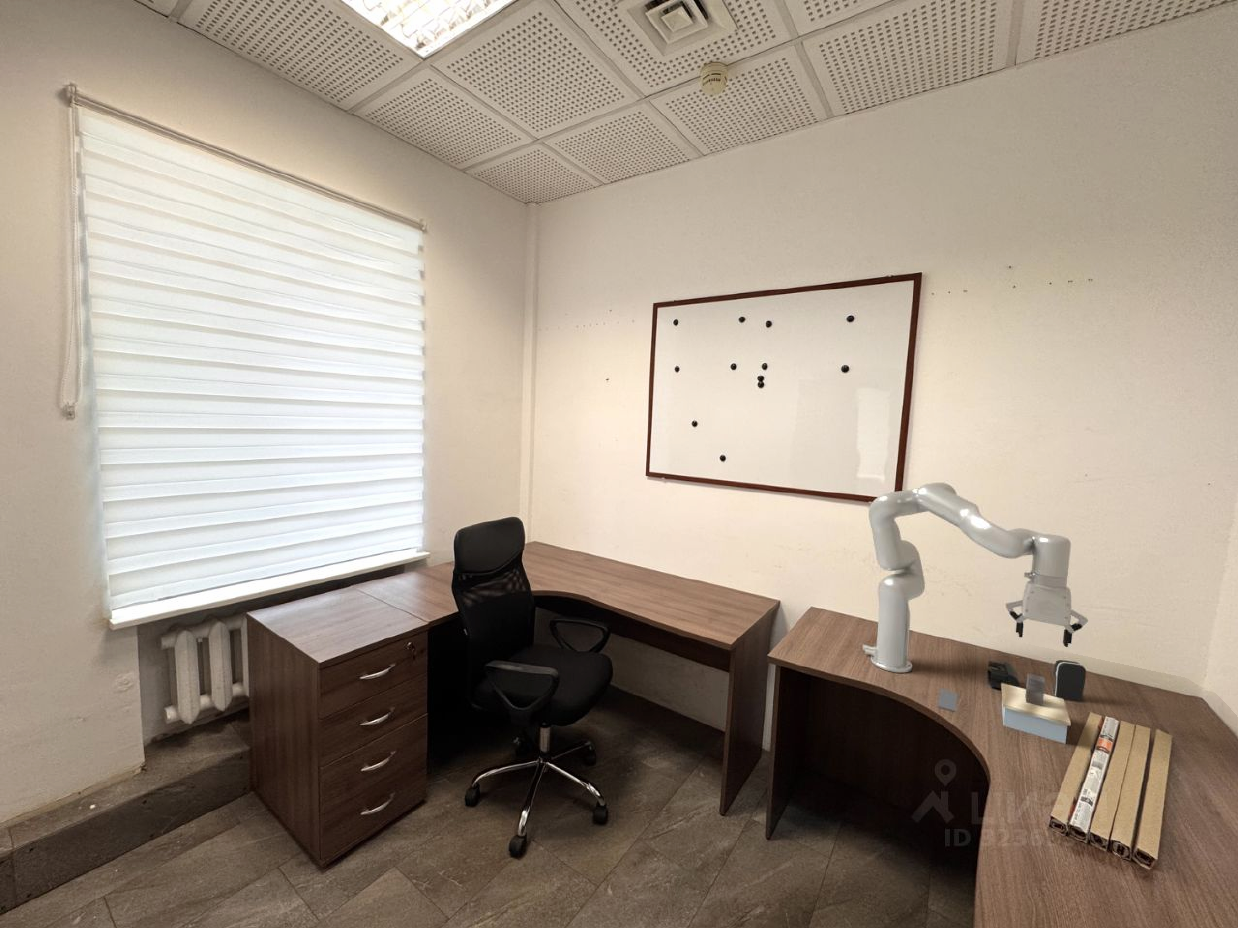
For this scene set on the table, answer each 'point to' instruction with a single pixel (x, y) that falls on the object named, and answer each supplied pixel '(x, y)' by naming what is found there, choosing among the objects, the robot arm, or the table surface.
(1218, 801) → the table surface
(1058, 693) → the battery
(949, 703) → the mat
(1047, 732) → the box
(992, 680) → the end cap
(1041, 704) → the lid
